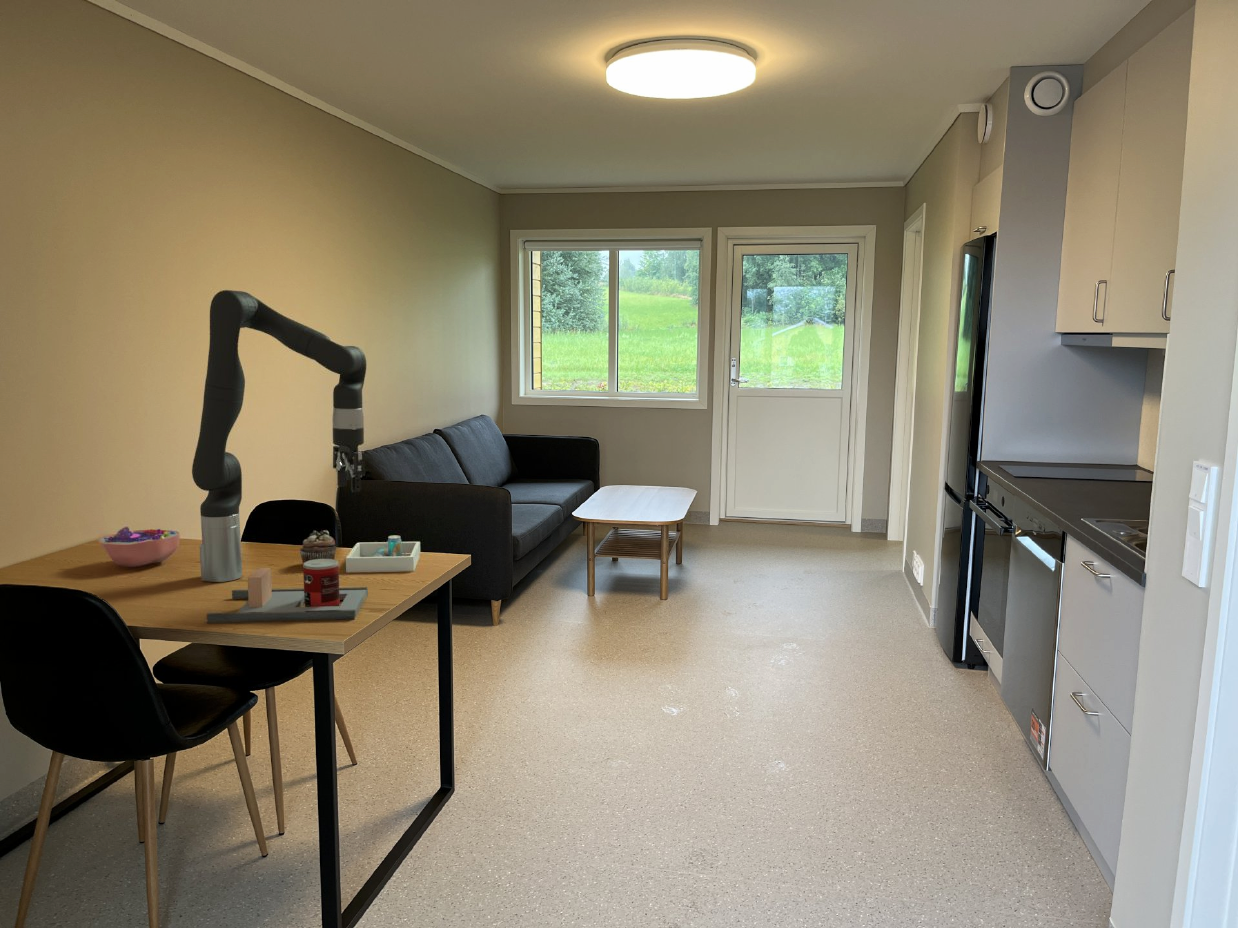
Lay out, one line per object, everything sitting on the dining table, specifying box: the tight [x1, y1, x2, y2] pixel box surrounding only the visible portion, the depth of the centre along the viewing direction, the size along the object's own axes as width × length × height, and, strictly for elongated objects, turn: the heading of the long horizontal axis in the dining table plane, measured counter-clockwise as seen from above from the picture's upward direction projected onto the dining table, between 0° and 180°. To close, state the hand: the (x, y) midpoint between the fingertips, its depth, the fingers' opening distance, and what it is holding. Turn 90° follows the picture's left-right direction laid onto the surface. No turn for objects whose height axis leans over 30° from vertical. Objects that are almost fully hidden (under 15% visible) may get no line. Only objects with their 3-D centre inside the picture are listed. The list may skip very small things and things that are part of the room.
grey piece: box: [237, 567, 368, 617], centre depth 207 cm, size 26×16×8 cm, turn 97°
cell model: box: [98, 526, 181, 568], centre depth 242 cm, size 17×20×11 cm
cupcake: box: [299, 529, 337, 565], centre depth 244 cm, size 10×10×10 cm
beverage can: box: [373, 534, 402, 557], centre depth 248 cm, size 12×12×8 cm
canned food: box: [302, 559, 341, 607], centre depth 207 cm, size 8×8×11 cm
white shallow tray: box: [345, 541, 421, 573], centre depth 248 cm, size 18×18×4 cm
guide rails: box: [206, 586, 369, 624], centre depth 207 cm, size 32×19×2 cm, turn 97°
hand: (349, 489), depth 223 cm, fingers open, 8 cm apart
